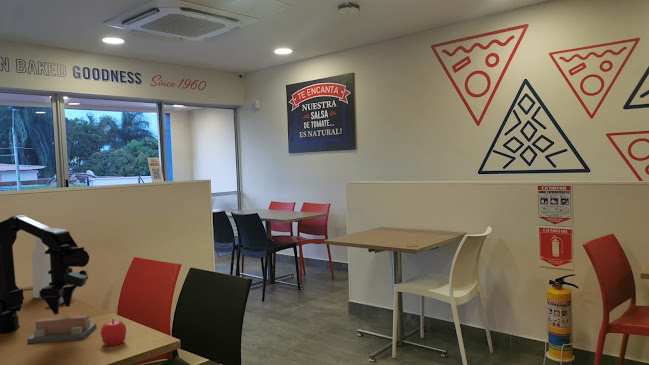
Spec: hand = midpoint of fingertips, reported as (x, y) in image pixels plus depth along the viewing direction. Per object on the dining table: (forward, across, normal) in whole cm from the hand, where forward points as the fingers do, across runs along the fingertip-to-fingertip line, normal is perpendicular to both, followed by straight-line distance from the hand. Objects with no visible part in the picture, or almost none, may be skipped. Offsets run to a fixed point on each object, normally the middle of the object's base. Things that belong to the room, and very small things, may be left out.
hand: (62, 310), depth 165 cm
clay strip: (+7, 0, 0) cm, 7 cm away
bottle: (+9, +60, +34) cm, 70 cm away
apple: (+9, -12, -21) cm, 26 cm away
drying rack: (+9, 0, 0) cm, 9 cm away
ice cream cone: (+9, +45, +19) cm, 50 cm away
